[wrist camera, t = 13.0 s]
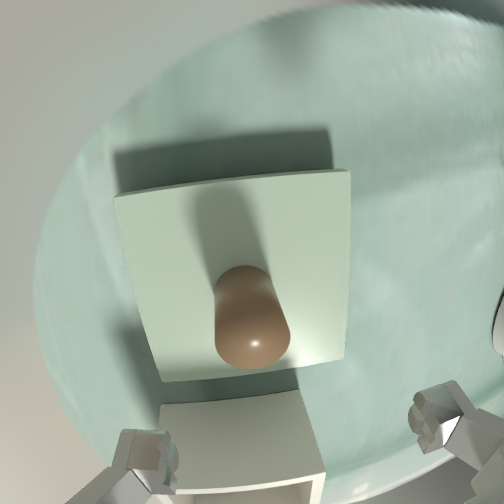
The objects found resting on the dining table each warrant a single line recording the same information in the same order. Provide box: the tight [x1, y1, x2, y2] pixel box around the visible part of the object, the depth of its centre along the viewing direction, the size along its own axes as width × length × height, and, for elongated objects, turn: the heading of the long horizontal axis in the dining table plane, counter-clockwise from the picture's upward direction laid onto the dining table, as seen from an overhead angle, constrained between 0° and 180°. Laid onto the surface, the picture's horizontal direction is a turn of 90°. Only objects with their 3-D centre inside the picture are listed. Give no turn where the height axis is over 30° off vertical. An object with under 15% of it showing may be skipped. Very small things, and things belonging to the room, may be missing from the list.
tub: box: [155, 389, 326, 504], centre depth 21 cm, size 11×11×8 cm
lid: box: [113, 169, 351, 382], centre depth 16 cm, size 12×12×7 cm
